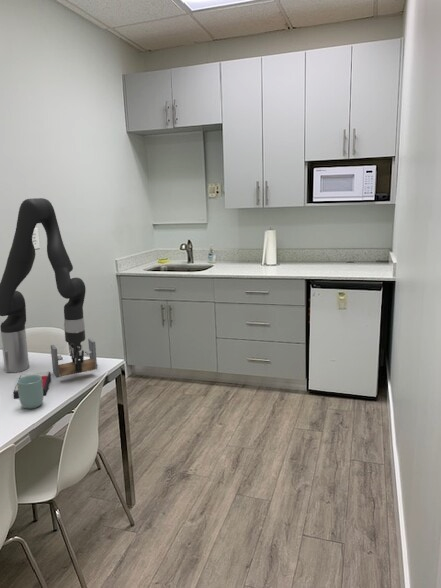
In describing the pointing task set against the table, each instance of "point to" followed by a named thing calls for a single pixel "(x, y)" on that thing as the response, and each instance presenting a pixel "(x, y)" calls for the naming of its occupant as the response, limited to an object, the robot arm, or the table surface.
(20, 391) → the cup
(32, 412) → the table surface
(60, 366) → the shelf bar
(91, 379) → the table surface
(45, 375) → the calculator
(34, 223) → the robot arm
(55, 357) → the shelf frame
